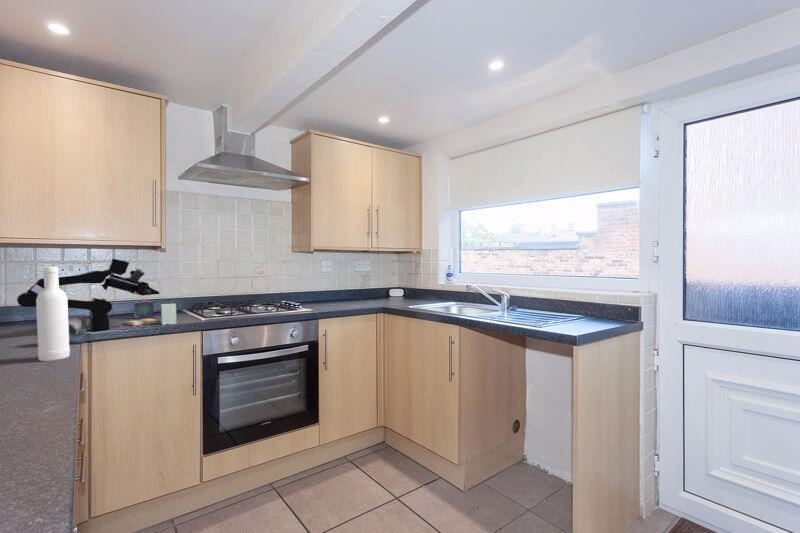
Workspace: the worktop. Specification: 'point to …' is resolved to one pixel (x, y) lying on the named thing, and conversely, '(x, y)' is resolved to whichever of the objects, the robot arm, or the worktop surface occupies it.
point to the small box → (77, 329)
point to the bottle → (52, 319)
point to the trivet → (141, 322)
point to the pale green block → (168, 314)
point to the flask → (143, 309)
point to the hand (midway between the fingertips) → (156, 292)
